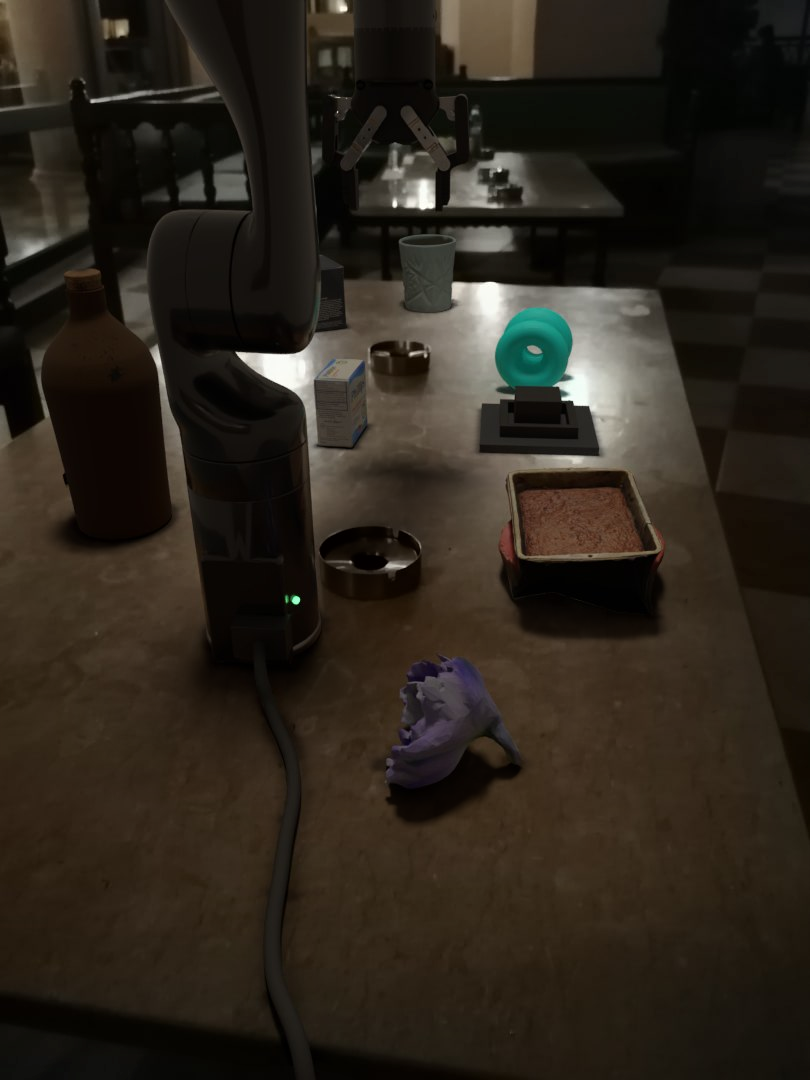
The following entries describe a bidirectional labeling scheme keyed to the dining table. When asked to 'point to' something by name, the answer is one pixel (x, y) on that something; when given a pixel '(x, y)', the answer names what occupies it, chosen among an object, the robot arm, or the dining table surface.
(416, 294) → the grey green cup
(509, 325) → the donuts
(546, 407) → the black square block
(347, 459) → the dining table surface
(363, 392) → the medicine box
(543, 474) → the baking dish
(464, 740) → the flower
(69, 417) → the olive oil
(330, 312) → the small box
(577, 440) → the socket pad
